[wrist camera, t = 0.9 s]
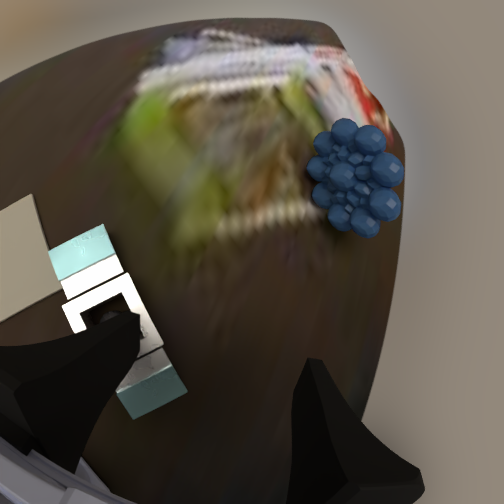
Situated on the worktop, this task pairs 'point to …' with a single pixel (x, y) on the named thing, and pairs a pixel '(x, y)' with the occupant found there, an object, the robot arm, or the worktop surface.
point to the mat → (24, 259)
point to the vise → (93, 276)
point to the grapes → (355, 177)
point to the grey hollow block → (120, 286)
